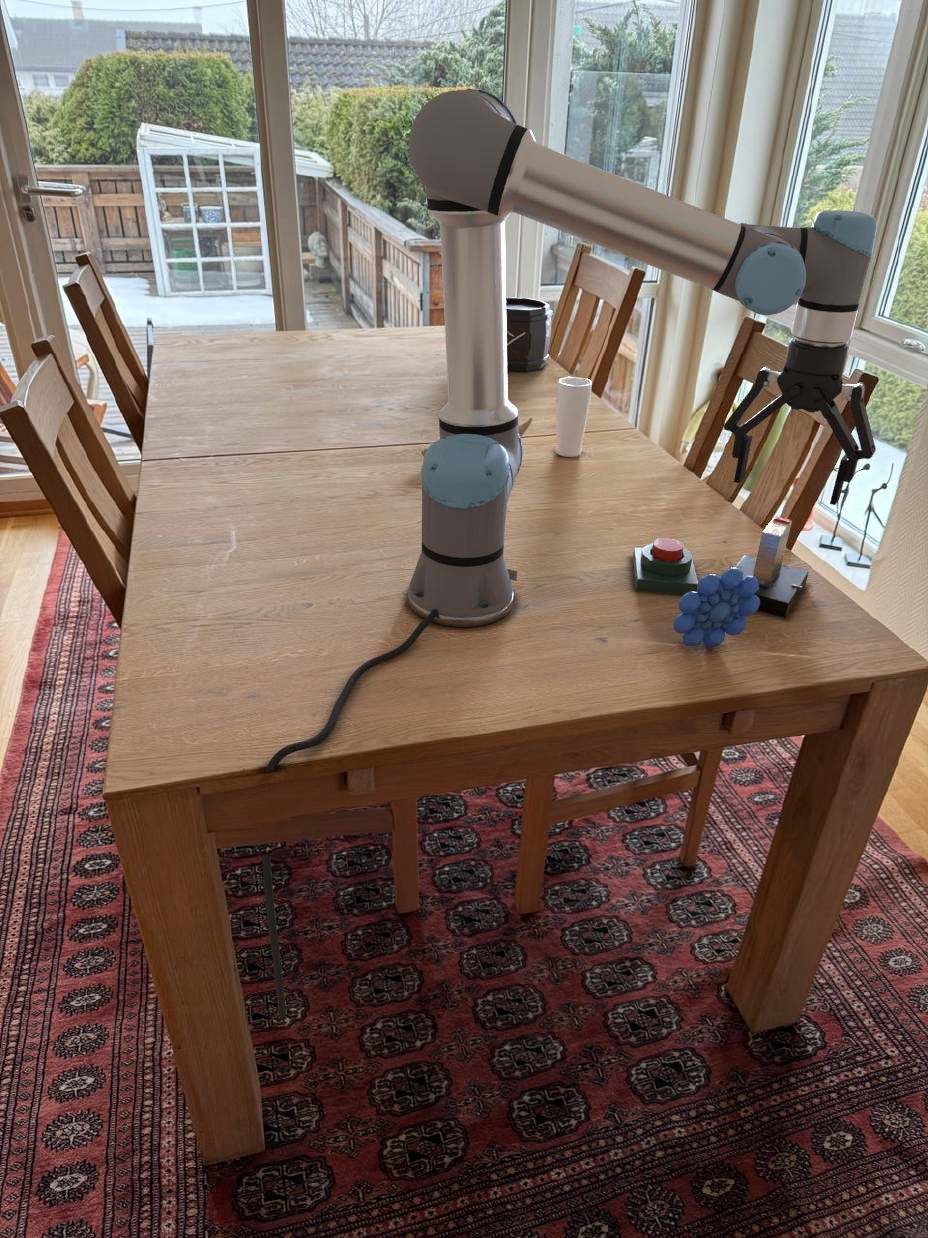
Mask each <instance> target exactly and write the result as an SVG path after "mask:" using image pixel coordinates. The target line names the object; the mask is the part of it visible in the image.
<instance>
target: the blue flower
mask: <svg viewBox="0 0 928 1238" xmlns="http://www.w3.org/2000/svg"><path fill="white" fill-rule="evenodd" d="M697 582H698V584H697V592H693V591H692V592H689V593H686V594H682V596H681V597H680V598H679V601H678V609H679V611H680V613H679V614H678V615H676V617H675V618H674V619H673V623H672V625H673V630H674V631H675V633H676V634H682V642H683V644H685V646H686V647H689V648H693V647H697V646H699V645H701V643H702V644H703V645H704V646H705V647H706V648H716V647H718V646H721V644H722V643H723V642H724V641H725V638H726V635H727V636H738V635H740V634H741V633H743V631H744V630H746V627H747V624H748V621H747V617H749V616H752V615H754V614H755V613H756V612H757V611H759V610H758V608H759V605H760V600H759V598H758V597H757V596H756V595H754V594H755V593H756V592H757V589H758V586H759V583H758V580H757V579H756V578H755V577H753V576H747V577H744V578H743V573H742V571H741V570H740V569H738V568H735V567H733V568H731V567H730V568H728V569H726V570H725V571H723V572H722V573H721V575H720V577H719V575H717V574H714V573H709V574H706V575H705V574H704V575H703V576H702V577H701V578H700V579H699V580H698V581H697Z"/></svg>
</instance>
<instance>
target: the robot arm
mask: <svg viewBox="0 0 928 1238" xmlns="http://www.w3.org/2000/svg"><path fill="white" fill-rule="evenodd" d="M408 139H409V140H408V150H409V151H408V152H409V153H408V154H409V158H410V162H411V165H412V168H413V171H414V173H415V175H416V176H417V178H418V179H419V180H420V182H421V183H422V184H423V186H425V188H426V207H427V213H429V214H430V215H431V216H432V217H433V218H434V219H435V221H437V223H438V225H439V234H440V235H439V236H440V252H441V253H440V254H441V274H442V278H441V279H442V296H443V298H442V299H443V317H444V336H445V356H446V376H447V377H446V378H447V399H448V401H447V403H446V404H445V405H444V406H443V407H442V408H441V409H440V410H439V412H438V426H439V427H438V430H439V439H438V440H436V441H434V442H432V444H430V446H429V447H427V448H428V449H427V448H426V449H427V451H426V452H425V455H424V456H423V460H422V466H421V469H420V478H421V480H420V481H421V550H420V551H421V552H420V555H419V558H418V560H417V563H416V566H415V569H414V571H413V574H412V577H411V579H410V582H409V586H408V601H407V602H408V605H409V607H410V609H411V610H412V611H413V612H414V613H415V614H416V615H417V616H419V617H421V618H422V619H423V620H422V621H421V622H420V623H419V624H418V626H417V627H416V628H415V629H414V630H413V631H412V633H411V634H410V635H409V637H408V638H407V639H406V640H405V641H404V642H403V643H402V644H401V645H399V646H397V647H396V648H394V649H392V650H390V651H388V652H385V653H383V654H381V655H378V656H375V657H373V658H371V659H369V660H367V661H366V662H363V664H361V665H360V666H359V667H358V668H357V669H356V670H355V671H354V672H353V673H352V674H351V675H350V676H349V678H348V680H347V681H346V683H345V685H344V687H343V688H342V691H341V693H340V695H339V696H338V698H337V700H336V701H335V703H334V705H333V707H332V711H331V713H330V716H329V718H328V721H327V722H326V724H325V725H324V727H323V728H322V730H321V731H320V732H319V733H317V734H315V736H313V737H312V738H308V739H306V740H302V741H298V742H294V743H291V744H289V745H286V746H284V747H282V748H280V749H279V750H278V751H277V752H276V753H275V754H274V755H273V756H272V757H271V759H270V760H269V762H268V764H267V765H266V768H265V773H273V772H274V771H275V770H276V768H277V767H278V765H279V764H280V763H281V761H282V760H283V759H284V758H286V757H287V756H288V755H291V754H293V753H296V752H299V751H303V750H307V749H310V748H313V747H315V746H317V745H319V744H321V743H322V742H324V741H325V740H326V739H327V738H328V737H329V736H330V735H331V733H332V732H333V730H334V729H335V727H336V724H337V722H338V719H339V716H340V714H341V711H342V709H343V707H344V705H345V703H346V702H347V700H348V698H349V696H350V695H351V692H352V689H353V688H354V687H355V685H356V683H357V682H358V680H359V679H360V678H361V677H362V676H363V674H365V673H366V672H367V671H368V670H370V669H372V668H374V667H375V666H378V665H379V664H381V663H384V662H387V661H390V660H392V659H394V658H396V657H398V656H400V655H401V654H403V653H404V652H406V651H407V650H408V649H409V648H411V647H412V646H413V645H414V643H415V642H416V641H417V640H418V638H419V637H420V635H422V634H423V632H424V631H425V630H426V628H428V626H429V625H430V624H431V623H434V624H438V625H442V626H446V627H453V628H454V627H455V628H473V627H481V626H486V625H489V624H493V623H495V622H497V621H500V620H501V619H503V618H504V617H506V616H507V615H508V614H509V613H510V612H511V610H512V609H513V604H514V589H513V584H512V581H513V582H518V581H517V580H518V571H516V570H513V569H510V568H508V567H507V564H506V559H505V557H504V550H505V549H504V548H505V534H506V533H505V532H506V519H507V507H508V502H509V498H510V496H511V493H512V490H513V487H514V484H515V481H516V478H517V476H518V474H519V472H520V470H521V466H522V462H523V456H524V455H523V454H524V452H523V451H524V450H523V445H522V439H521V438H520V436H519V433H518V426H519V411H518V408H517V407H516V406H515V405H514V404H513V403H511V401H510V400H509V399H508V371H507V339H506V298H507V288H506V287H507V285H506V284H507V282H506V228H505V227H506V221H507V219H508V218H509V217H510V216H511V214H512V213H514V214H518V215H520V216H523V217H525V218H528V219H530V220H533V221H535V222H537V223H540V224H542V225H545V226H548V227H551V228H553V229H556V230H557V231H561V232H564V233H566V234H568V235H570V236H574V237H576V238H578V239H581V240H584V241H586V242H589V243H592V244H594V245H597V246H599V247H601V248H604V249H606V250H610V251H612V252H614V253H617V254H620V255H622V256H625V257H626V258H627V257H628V258H630V259H632V260H635V261H638V262H640V263H642V264H646V265H648V266H651V267H653V268H656V269H658V270H660V271H664V272H665V273H668V274H671V275H674V276H676V277H679V278H681V279H683V280H686V281H689V282H692V283H694V284H697V285H699V286H702V287H704V288H707V289H710V290H711V291H714V292H716V293H718V294H720V295H722V296H725V297H727V298H729V299H732V300H735V301H738V302H739V303H740V304H741V305H742V306H743V307H744V308H745V309H747V310H749V311H751V312H752V313H754V314H757V315H761V316H774V315H777V314H781V313H783V312H784V311H787V310H788V309H790V308H791V307H792V306H793V305H795V304H796V307H795V312H794V318H793V321H792V326H791V331H790V333H791V335H792V336H793V337H792V338H791V339H789V341H788V344H787V345H788V346H787V350H786V355H785V360H784V364H783V369H782V370H781V372H778V371H774V370H772V368H771V367H770V366H764V367H763V368H761V369H760V370H759V371H758V372H757V374H756V378H755V381H754V384H753V385H752V387H751V389H750V390H749V391H748V392H747V394H746V395H745V396H744V398H743V399H742V400H741V402H740V403H739V404H738V405H737V407H736V408H735V410H734V411H733V412H732V414H730V416H729V418H727V420H726V421H725V423H724V424H723V429H724V430H725V431H727V432H730V433H732V434H733V435H734V442H733V446H732V447H733V448H732V451H731V455H732V458H733V459H737V463H736V469H735V473H734V479H733V483H736V484H740V483H741V482H742V481H743V480H744V479H745V476H746V470H747V467H748V460H749V456H750V451H751V446H752V442H753V441H752V440H753V434H751V433H749V432H750V431H753V429H755V428H756V427H757V426H758V425H760V424H761V423H762V422H764V421H765V420H766V419H767V418H769V417H770V416H771V415H772V414H774V413H775V412H777V410H779V409H780V408H781V407H783V406H784V405H786V404H787V406H788V407H790V409H792V410H796V411H797V410H803V411H806V412H807V413H812V414H814V413H816V412H820V414H821V415H822V417H823V418H824V419H825V420H826V422H827V424H828V425H829V427H830V429H831V431H832V432H833V434H834V436H835V438H836V439H837V441H838V444H839V445H840V447H841V448H842V450H843V452H844V455H842V458H841V459H840V462H839V465H838V469H837V473H836V477H835V481H834V485H833V490H832V492H831V496H830V501H829V505H831V506H836V505H837V503H838V502H839V501H840V498H841V494H842V491H843V487H844V483H850V482H851V481H852V480H853V478H854V477H855V474H856V469H857V466H858V463H859V460H864V459H865V460H870V459H872V457H873V456H874V454H875V453H876V451H877V449H876V444H875V440H874V436H873V432H872V428H871V424H870V421H869V416H868V411H867V408H866V405H865V404H866V403H865V392H866V385H865V383H864V382H862V381H860V382H858V383H856V384H854V383H844V382H843V374H844V370H845V366H846V361H847V357H848V353H849V349H850V346H848V343H847V342H849V341H851V340H852V336H853V333H854V328H855V324H856V319H857V316H858V312H859V306H860V301H861V297H862V293H863V289H864V287H865V282H866V278H867V275H868V271H869V267H870V263H871V259H872V258H873V256H874V254H873V250H874V245H875V240H876V234H877V229H878V228H877V227H878V222H877V219H876V217H874V216H873V215H872V214H869V213H866V212H861V211H854V210H844V209H843V210H841V209H840V210H839V209H836V210H831V209H825V210H820V211H819V212H818V213H817V214H816V215H815V217H814V221H813V222H812V224H811V226H805V227H801V226H800V227H793V226H781V225H778V226H777V225H764V224H748V223H747V222H740V223H737V222H735V221H732V220H730V219H728V218H725V217H722V216H719V215H717V214H715V213H712V212H710V211H707V210H705V209H703V208H700V207H697V206H695V205H692V204H690V203H687V202H685V201H682V200H679V199H678V198H675V197H672V196H671V195H670V196H669V195H667V194H665V193H662V192H660V191H658V190H655V189H653V188H649V187H647V186H644V185H642V184H641V183H637V182H635V181H632V180H630V179H627V178H624V177H622V176H619V175H617V174H615V173H612V172H610V171H607V170H605V169H602V168H600V167H597V166H594V165H592V164H590V163H587V162H585V161H582V160H580V159H577V158H575V157H572V156H570V155H567V154H565V153H563V152H560V151H557V150H554V149H552V148H550V147H548V146H546V145H545V146H544V145H542V144H539V143H538V142H537V141H536V139H535V136H534V134H533V132H532V130H531V129H529V128H527V127H525V126H522V125H520V124H518V122H517V121H516V119H515V116H514V114H513V112H512V110H510V108H509V106H507V105H506V103H505V102H504V101H502V99H501V98H499V97H498V96H496V95H495V94H492V92H489V91H486V90H484V89H472V88H467V89H458V90H457V89H456V90H449V91H445V92H441V93H439V94H437V95H435V96H433V97H432V98H431V99H429V100H428V101H427V102H426V103H425V104H424V105H423V106H422V107H421V108H420V109H419V111H418V113H417V114H416V115H415V117H414V120H413V122H412V124H411V127H410V131H409V138H408ZM796 302H797V303H796ZM774 382H776V383H777V386H778V388H779V390H780V392H781V394H780V395H779V396H778V397H776V398H775V399H774V400H772V401H771V402H770V403H769V404H767V406H765V407H764V408H762V410H760V411H758V412H757V413H756V414H755V415H753V416H752V417H751V418H750V419H748V420H747V421H746V422H745V423H743V424H742V423H741V422H740V421H741V419H742V418H743V417H744V415H745V414H746V413H747V412H748V410H749V409H750V408H751V407H752V405H753V404H754V403H755V401H756V400H757V399H758V397H759V396H760V395H761V394H762V392H763V391H764V390H765V388H768V387H770V386H771V385H772V384H773V383H774ZM841 394H843V395H844V396H845V400H846V401H847V402H849V403H850V410H851V414H852V415H851V416H852V418H853V422H854V426H855V430H856V434H857V438H858V442H859V445H858V443H857V441H856V439H855V437H854V436H853V434H852V432H851V430H850V429H849V428H850V427H848V425H847V423H846V421H845V419H844V418H843V416H842V414H841V412H840V410H839V407H838V404H837V403H836V401H835V399H836V398H837V397H838V396H840V395H841ZM272 873H273V871H272V856H269V855H265V854H262V874H263V875H262V876H263V888H264V901H265V909H266V910H265V911H266V918H267V927H268V933H269V943H270V950H271V957H272V965H273V973H274V982H275V988H276V989H275V990H276V999H277V1009H278V1010H277V1011H278V1018H279V1019H281V1020H283V1019H285V1018H286V1017H287V1008H286V1007H287V1006H286V996H285V986H284V977H283V968H282V960H281V952H280V951H281V950H280V944H279V935H278V928H277V927H278V926H277V919H276V907H275V900H274V888H273V874H272Z"/></svg>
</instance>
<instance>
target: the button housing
mask: <svg viewBox="0 0 928 1238" xmlns="http://www.w3.org/2000/svg"><path fill="white" fill-rule="evenodd" d="M652 547H653V543H649V544H647V545H645V546H644V547H633V553H632V565H633V577H634V585H635V591H638V592H651V593H662V594H674V595H684V594H686V593H689V592H692V591H693V592H697V584H698V582H699V581H698V578H697V574H696V569H695V565H694V561H693V560H694V559H693V557H692V552H691V551H689V550H688V549H686V548H685V547H684V548H683V553H682V558H681V560H678V561H663V560H660V559H657V558H655V557H653V556H652Z"/></svg>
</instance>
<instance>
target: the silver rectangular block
mask: <svg viewBox="0 0 928 1238" xmlns="http://www.w3.org/2000/svg"><path fill="white" fill-rule="evenodd" d="M792 523H793V521H792V520H791V519H790V518H785V517H782V516H776V515H775V516H774V517H773V518H772V520H771V521H770V522H769V523H768V525H766V527H765V528H764V530H762V532H761V537H760V541H759V546H758V550H757V555H756V558H757V559H756V564H755V568H754V573H753V577H755V578H756V579H757V580H758V583H759V586H762V587H765V588H769V587H770V585H771V584H772V582H773V581H774V579H775V578H776V577H777V575H778V574H779V572H780V569H781V565H783V561H784V557H785V554H786V553H785V552H786V547H787V543H788V539H789V536H790V531H791V527H792Z"/></svg>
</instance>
